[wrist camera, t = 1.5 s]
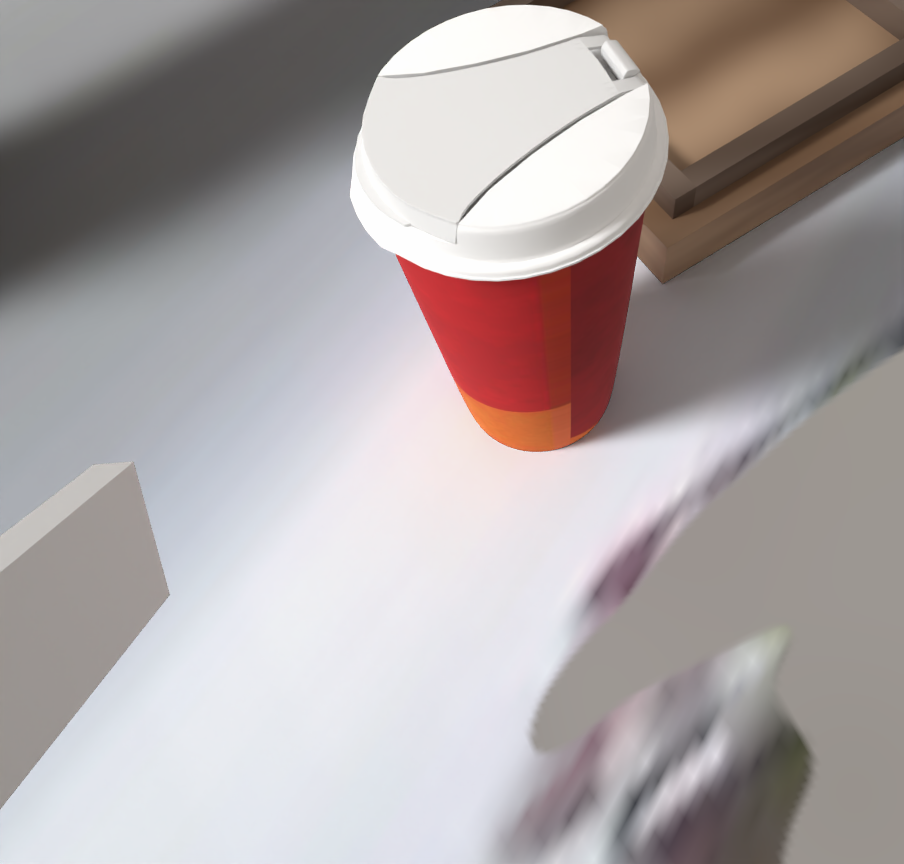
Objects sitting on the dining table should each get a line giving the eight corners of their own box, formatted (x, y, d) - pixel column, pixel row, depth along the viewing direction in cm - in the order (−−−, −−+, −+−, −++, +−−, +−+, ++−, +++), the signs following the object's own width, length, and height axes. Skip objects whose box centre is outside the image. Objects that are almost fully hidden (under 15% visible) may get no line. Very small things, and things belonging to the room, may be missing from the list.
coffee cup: (583, 271, 35) (577, -54, 22) (679, 426, 32) (741, 151, 18) (407, 350, 35) (291, 71, 22) (483, 515, 32) (401, 303, 18)
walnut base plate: (468, 71, 41) (458, 7, 38) (727, -77, 43) (739, -151, 39) (662, 284, 35) (669, 228, 31) (963, 100, 36) (1001, 29, 33)
